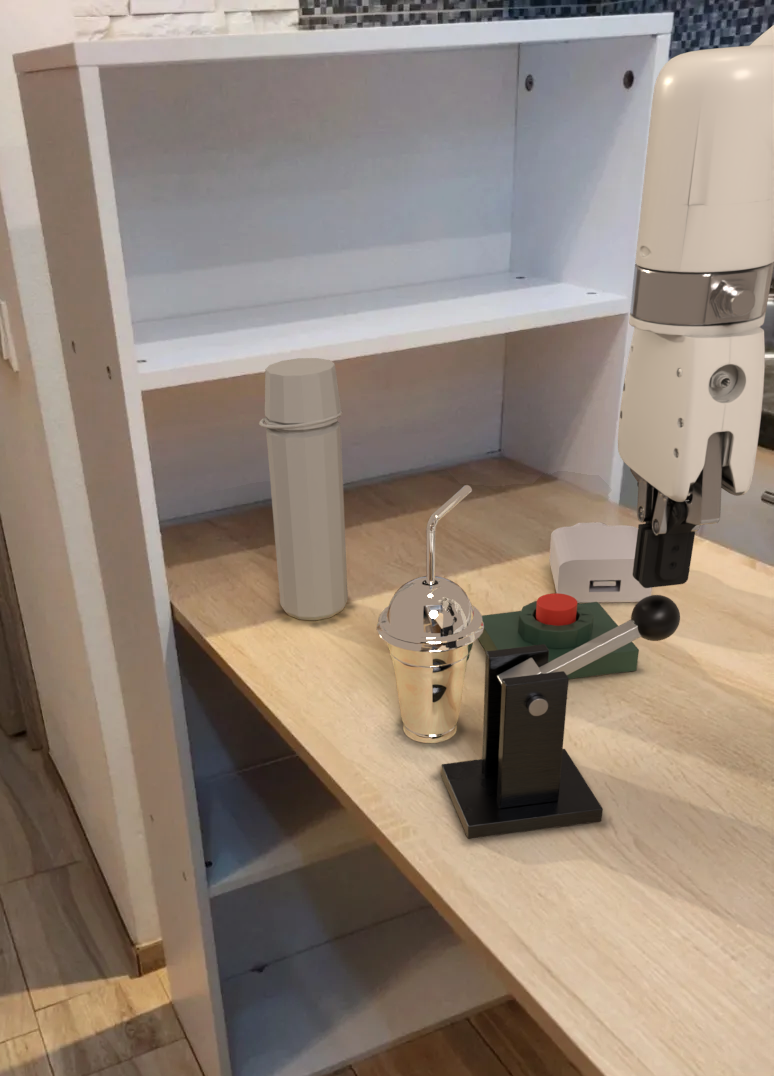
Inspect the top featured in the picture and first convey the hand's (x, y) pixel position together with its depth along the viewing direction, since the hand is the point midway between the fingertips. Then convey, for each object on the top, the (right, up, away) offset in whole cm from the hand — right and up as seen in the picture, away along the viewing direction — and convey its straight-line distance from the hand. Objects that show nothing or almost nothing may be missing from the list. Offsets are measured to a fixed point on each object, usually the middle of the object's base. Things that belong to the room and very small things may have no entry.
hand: (659, 580), depth 70 cm
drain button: (0, 0, +25) cm, 25 cm away
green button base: (0, -3, +27) cm, 27 cm away
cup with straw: (-13, -11, +18) cm, 24 cm away
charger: (+8, +6, +41) cm, 42 cm away
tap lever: (-3, -6, +3) cm, 7 cm away
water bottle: (-23, +2, +39) cm, 45 cm away
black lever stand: (-8, -16, +9) cm, 19 cm away
